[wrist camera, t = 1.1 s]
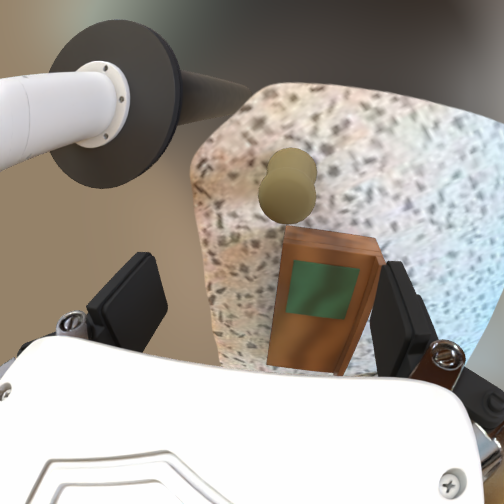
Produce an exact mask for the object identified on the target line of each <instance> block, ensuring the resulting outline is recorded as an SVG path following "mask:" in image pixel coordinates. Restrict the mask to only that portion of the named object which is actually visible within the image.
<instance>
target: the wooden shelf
mask: <svg viewBox="0 0 504 504" xmlns="http://www.w3.org/2000/svg"><path fill="white" fill-rule="evenodd" d="M382 265H386V262H385V260H384V258H383V255H382V253H381V250H380V248H379V245H378V243H377V241H376V239H375V238H371V237H365V236H358V235H352V234H345V233H338V232H332V231H325V230H318V229H311V228H303V227H296V226H289V225H286V228H285V234H284V240H283V247H282V255H281V263H280V271H279V278H278V286H277V294H276V301H275V308H274V315H273V323H272V329H271V336H270V343H269V350H268V357H267V363H266V365H271V366H278V367H285V368H293V369H301V370H309V371H319V372H329V373H333V376H343V375H344V373H345V370H346V368H347V366H348V364H349V362H350V360H351V357H352V355H353V353H354V351H355V349H356V346H357V344H358V342H359V339H360V337H361V335H362V332H363V330H364V327H365V325H366V322H367V320H368V317H369V315H370V312H371V310H372V307H373V305H374V300H375V296H376V291H377V286H378V281H379V276H380V271H381V267H382Z"/></svg>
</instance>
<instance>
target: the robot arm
mask: <svg viewBox="0 0 504 504" xmlns="http://www.w3.org/2000/svg"><path fill="white" fill-rule="evenodd" d="M129 107H130V91H129V86H128V82H127V79H126V78H125V76H124V74H123V72H122V71H121V70H120V69H119V68H118V67H117V66H115V65H114V64H112V63H109V62H104V61H94V62H90V63H87V64H85V65H83V66H82V67H80V68H79V69H78V70H77V71H76V72H59V73H45V74H35V75H24V76H17V77H10V78H3V79H0V172H1V171H3V170H5V169H7V168H10V167H12V166H14V165H17V164H19V163H21V162H24V161H26V160H29V159H31V158H33V157H36V156H39V155H41V154H44V153H47V152H49V151H52V150H55V149H58V148H61V147H64V146H67V145H70V144H73V143H76V144H78V145H80V146H82V147H85V148H95V147H100V146H102V145H105V144H107V143H108V142H110V141H111V140H113V139H114V138H115V137H116V136H117V135H118V133H119V132H120V131H121V129H122V127H123V125H124V124H125V121H126V118H127V116H128V112H129ZM86 308H87V310H88V314H87V315H86V314H85V313H84V312H83V311H71V312H69V313H66V314H65V315H64V316H62V317H61V318H60V319H59V321H58V322H57V325H56V332H54V333H51V334H48V335H46V336H43V337H41V338H38V339H35V340H33V341H30V342H27V343H25V344H23V345H22V347H21V348H20V350H19V352H18V354H17V359H15V357H13V358H12V359H10V360H9V361H7V362H6V363H4V364H3V365H1V366H0V504H504V392H503V391H502V390H501V389H499V388H498V387H496V386H495V385H493V384H491V383H490V382H488V381H487V380H485V379H484V378H482V377H480V376H479V375H477V374H476V373H474V372H472V371H471V370H469V369H468V368H466V367H464V365H465V361H466V358H465V354H464V352H463V350H462V349H461V347H460V346H459V345H457V344H456V343H454V342H452V341H449V340H443V339H442V340H439V339H438V337H437V334H436V332H435V329H434V326H433V324H432V321H431V319H430V316H429V314H428V312H427V309H426V307H425V304H424V302H423V300H422V298H421V296H420V295H416V292H415V290H414V288H413V285H412V283H411V281H410V279H409V277H408V274H407V272H406V270H405V268H404V266H403V264H402V262H400V261H387V263H386V265H382V267H381V271H380V276H379V281H378V286H377V291H376V296H375V300H374V305H373V309H372V313H371V317H370V329H371V335H372V340H373V346H374V353H375V359H376V366H377V373H378V377H359V376H322V375H301V374H286V373H273V372H262V371H253V370H243V369H235V368H227V367H220V366H211V365H205V364H199V363H193V362H187V361H181V360H176V359H170V358H165V357H160V356H154V355H150V354H145V353H143V351H144V349H145V347H146V346H147V344H148V342H149V341H150V339H151V337H152V336H153V334H154V333H155V331H156V329H157V328H158V326H159V324H160V323H161V321H162V319H163V318H164V316H165V315H166V313H167V310H168V305H167V301H166V297H165V294H164V290H163V286H162V283H161V279H160V275H159V271H158V267H157V264H156V260H155V257H154V256H152V255H151V253H149V252H137V253H136V254H135V255H134V256H133V257H132V258H131V259H130V260H129V261H128V262H127V263H126V264H125V265H124V266H123V267H122V268H121V269H120V270H119V271H118V272H117V273H116V274H115V275H114V277H113V278H111V280H110V281H109V282H108V283H107V284H106V285H105V286H104V287H103V288H102V289H101V290H100V291H99V293H98V294H97V295H96V296H95V297H94V298H93V299H92V300H91V301H90V302H89V303H88V305H87V306H86Z"/></svg>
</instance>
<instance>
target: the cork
mask: <svg viewBox="0 0 504 504" xmlns="http://www.w3.org/2000/svg"><path fill="white" fill-rule="evenodd" d="M316 176H317V169H316V164H315V162H314V161H313V159H312V157H311V156H310V155H309V154H307V153H306V152H305V151H302V150H300V149H297V148H286V149H282V150H280V151H278V152H276V153H275V154H274V155H273V156H272V157H271V159H270V161H269V163H268V166H267V176H266V177H265V178H264V179H263V180H262V183H261V185H260V187H259V192H258V199H259V203H260V207H261V209H262V210H263V212H264V213H265V215H267V216H268V217H269V218H270V219H271V220H273V221H275V222H277V223H280V224H287V225H288V224H295V223H298V222H300V221H302V220H304V219H305V218H306V217H307V216H308V215H309V214H310V213H311V211H312V210H313V208H314V206H315V202H316V192H315V186H314V183H315V181H316Z"/></svg>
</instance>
